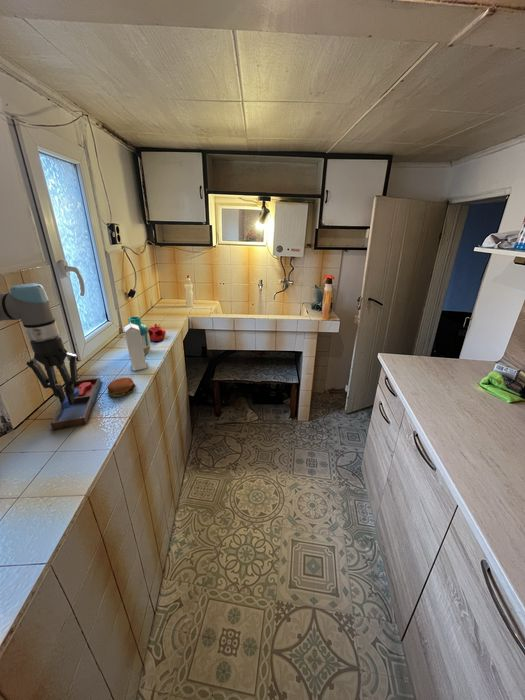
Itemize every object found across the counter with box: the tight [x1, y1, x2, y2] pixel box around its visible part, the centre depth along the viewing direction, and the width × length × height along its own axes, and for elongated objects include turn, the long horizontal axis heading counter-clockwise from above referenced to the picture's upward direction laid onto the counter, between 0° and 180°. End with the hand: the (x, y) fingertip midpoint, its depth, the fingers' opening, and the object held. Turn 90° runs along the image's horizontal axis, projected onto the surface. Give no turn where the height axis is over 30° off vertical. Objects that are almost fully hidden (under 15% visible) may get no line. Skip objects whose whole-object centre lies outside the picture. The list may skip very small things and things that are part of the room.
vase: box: [127, 315, 151, 355], centre depth 139 cm, size 11×11×19 cm
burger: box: [107, 377, 137, 398], centre depth 110 cm, size 10×9×5 cm
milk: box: [123, 323, 148, 372], centre depth 126 cm, size 6×6×22 cm
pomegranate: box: [148, 323, 167, 342], centre depth 159 cm, size 10×10×9 cm
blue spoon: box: [62, 388, 80, 409], centre depth 95 cm, size 4×10×2 cm, turn 18°
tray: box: [50, 376, 102, 431], centre depth 104 cm, size 10×28×3 cm, turn 18°
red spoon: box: [78, 382, 92, 397], centre depth 109 cm, size 4×10×2 cm, turn 18°
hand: (68, 402), depth 93 cm, fingers closed on blue spoon, 1 cm apart
